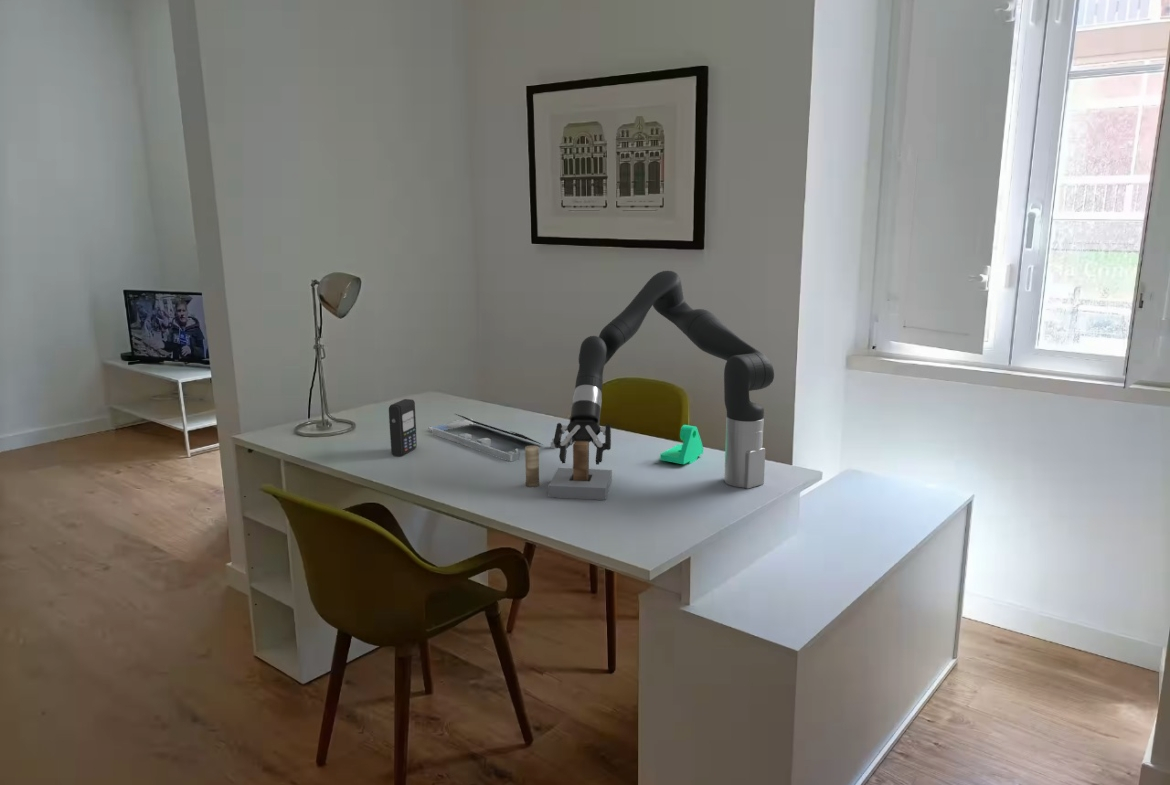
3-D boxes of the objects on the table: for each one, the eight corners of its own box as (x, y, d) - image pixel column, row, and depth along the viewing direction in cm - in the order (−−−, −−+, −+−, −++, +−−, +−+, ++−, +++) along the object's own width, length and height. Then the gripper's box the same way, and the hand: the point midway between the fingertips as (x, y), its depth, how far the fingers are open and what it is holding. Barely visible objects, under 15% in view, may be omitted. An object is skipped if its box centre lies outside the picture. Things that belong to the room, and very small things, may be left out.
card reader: (402, 457, 235) (399, 406, 231) (389, 456, 236) (386, 405, 233) (418, 448, 243) (416, 399, 240) (406, 447, 244) (404, 398, 241)
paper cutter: (510, 463, 231) (510, 444, 229) (423, 432, 263) (422, 415, 261) (559, 450, 243) (559, 431, 241) (470, 421, 275) (469, 405, 273)
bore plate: (611, 481, 214) (611, 469, 214) (605, 499, 201) (605, 488, 200) (558, 478, 216) (558, 467, 216) (548, 497, 203) (548, 485, 202)
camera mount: (679, 452, 239) (679, 418, 237) (703, 457, 235) (704, 421, 232) (658, 463, 229) (659, 427, 227) (683, 468, 225) (684, 431, 223)
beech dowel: (541, 485, 211) (541, 447, 209) (530, 488, 209) (529, 450, 207) (534, 481, 214) (533, 444, 212) (523, 484, 212) (522, 446, 210)
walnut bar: (588, 487, 210) (588, 441, 207) (586, 491, 207) (586, 445, 204) (575, 486, 210) (575, 440, 208) (573, 490, 207) (573, 444, 204)
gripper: (615, 414, 216) (609, 470, 208) (561, 413, 218) (553, 468, 210) (612, 399, 210) (607, 456, 201) (557, 398, 212) (549, 454, 203)
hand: (580, 462), depth 206 cm, fingers open, 8 cm apart
